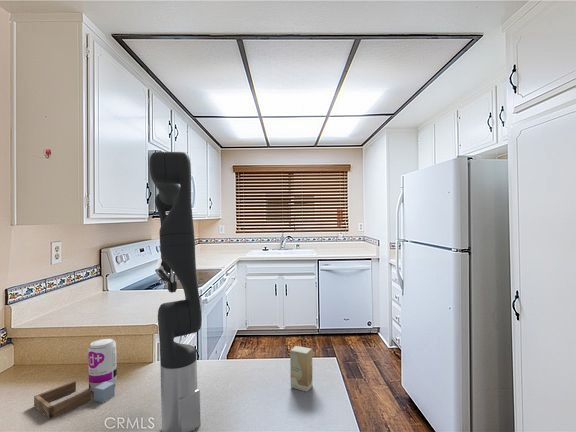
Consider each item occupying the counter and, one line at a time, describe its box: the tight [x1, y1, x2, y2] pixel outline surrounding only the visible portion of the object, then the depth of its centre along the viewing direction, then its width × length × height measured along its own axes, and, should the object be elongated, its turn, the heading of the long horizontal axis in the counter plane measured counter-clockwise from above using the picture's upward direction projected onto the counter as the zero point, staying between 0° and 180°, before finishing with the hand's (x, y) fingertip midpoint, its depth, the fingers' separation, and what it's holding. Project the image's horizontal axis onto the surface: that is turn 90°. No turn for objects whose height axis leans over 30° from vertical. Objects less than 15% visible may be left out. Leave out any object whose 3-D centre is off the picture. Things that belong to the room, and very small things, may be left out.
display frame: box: [33, 380, 92, 420], centre depth 98 cm, size 12×11×3 cm
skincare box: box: [289, 345, 313, 393], centre depth 103 cm, size 6×4×12 cm
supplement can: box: [87, 337, 118, 393], centre depth 108 cm, size 8×8×15 cm
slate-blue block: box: [93, 382, 116, 403], centre depth 100 cm, size 4×4×4 cm
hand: (172, 292), depth 119 cm, fingers closed
